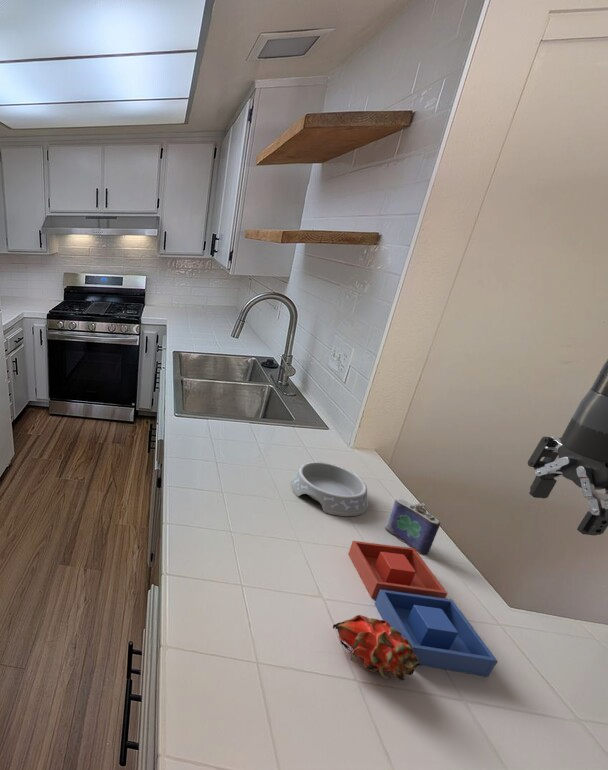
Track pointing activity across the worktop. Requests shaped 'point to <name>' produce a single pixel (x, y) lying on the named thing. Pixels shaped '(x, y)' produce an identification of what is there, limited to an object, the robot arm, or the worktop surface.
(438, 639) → the blue block
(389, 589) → the red bin
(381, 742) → the worktop surface
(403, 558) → the red block
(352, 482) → the dog bowl
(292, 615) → the worktop surface
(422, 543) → the flask
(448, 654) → the blue bin
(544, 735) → the worktop surface
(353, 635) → the dragon fruit
